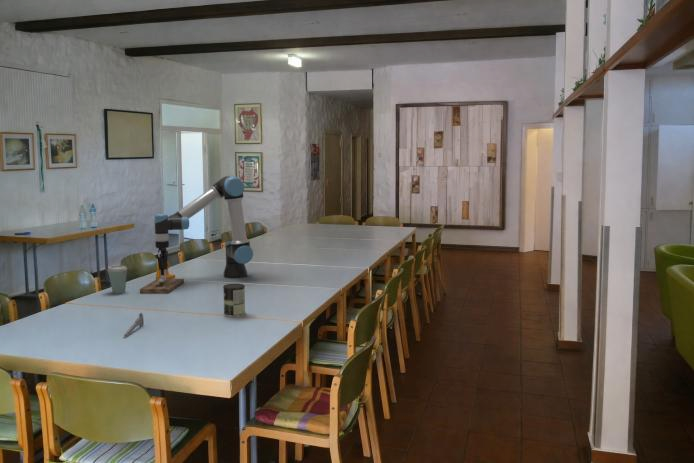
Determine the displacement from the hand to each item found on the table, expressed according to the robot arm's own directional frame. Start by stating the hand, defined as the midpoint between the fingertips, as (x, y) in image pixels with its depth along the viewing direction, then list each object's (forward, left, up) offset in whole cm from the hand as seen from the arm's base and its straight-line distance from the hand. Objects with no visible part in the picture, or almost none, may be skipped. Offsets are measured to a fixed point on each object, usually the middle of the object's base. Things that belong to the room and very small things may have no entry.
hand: (163, 280), depth 353 cm
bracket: (+6, -22, -4) cm, 23 cm away
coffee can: (-55, +62, -4) cm, 83 cm away
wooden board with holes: (0, +2, -4) cm, 5 cm away
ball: (0, +3, 0) cm, 3 cm away
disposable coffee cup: (+21, +15, -4) cm, 26 cm away
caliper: (-17, +92, -5) cm, 94 cm away
